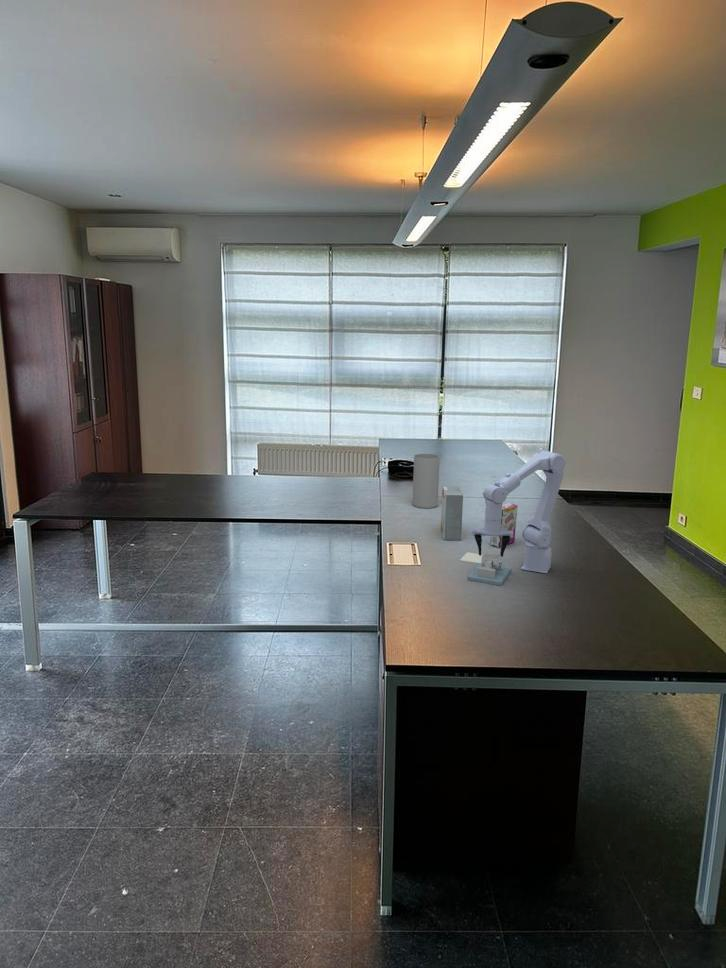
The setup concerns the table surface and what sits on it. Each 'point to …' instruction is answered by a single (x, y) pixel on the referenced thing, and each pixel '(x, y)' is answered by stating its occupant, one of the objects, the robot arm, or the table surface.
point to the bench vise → (489, 573)
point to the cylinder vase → (426, 480)
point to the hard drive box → (451, 512)
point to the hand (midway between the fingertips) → (490, 555)
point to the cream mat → (471, 558)
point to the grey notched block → (490, 558)
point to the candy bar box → (506, 523)
